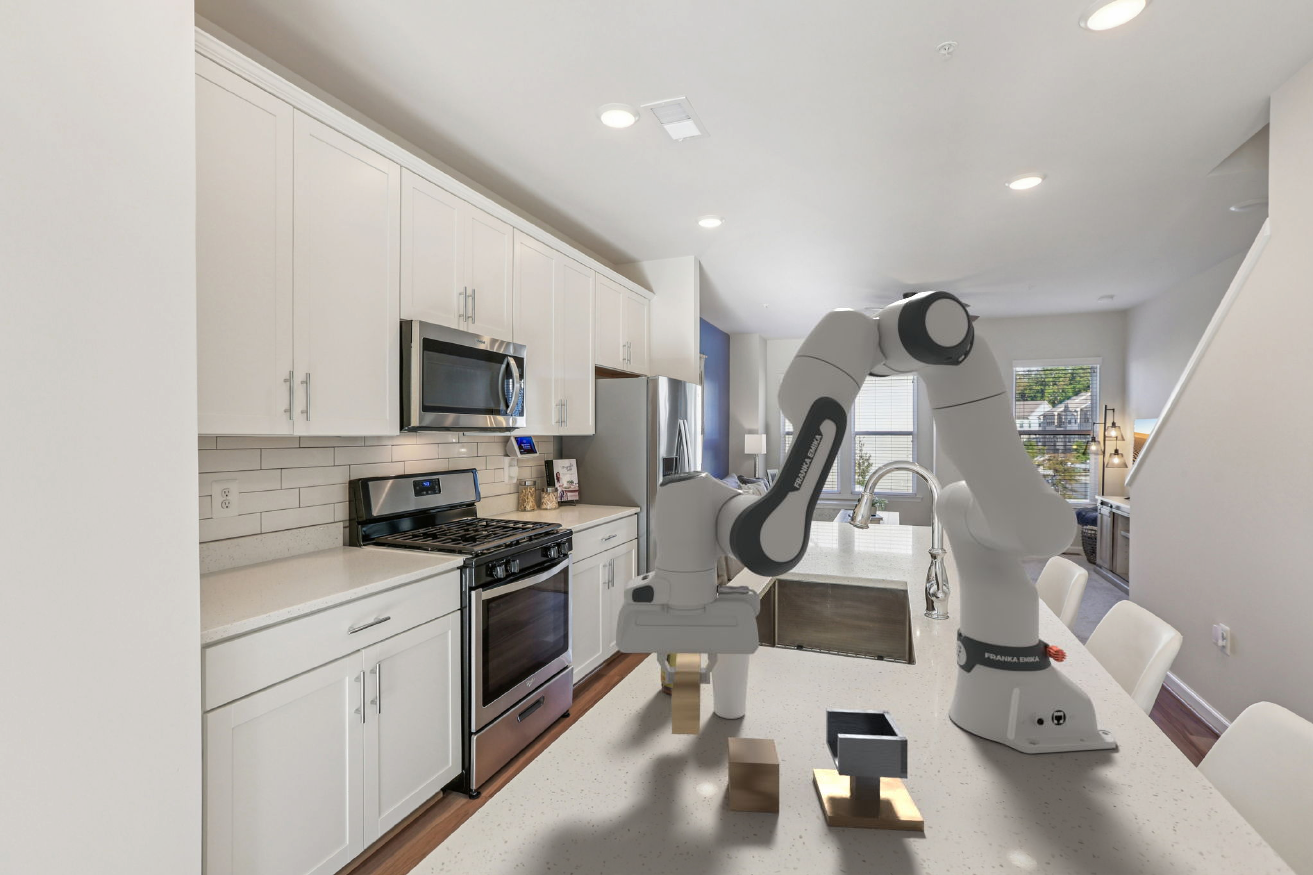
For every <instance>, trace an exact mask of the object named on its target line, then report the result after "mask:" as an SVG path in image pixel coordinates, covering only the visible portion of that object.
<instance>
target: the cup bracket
mask: <svg viewBox="0 0 1313 875" xmlns="http://www.w3.org/2000/svg"><path fill="white" fill-rule="evenodd" d="M825 709H826V710H825V711H826V713H825V714H826V715H825V717H826V719H825V726H826V727H825V728H826V729H825V730H826V731H825V738H826V739H825V743H826V746H827V748H828V750H829V753H830V756H831V758H832V761H833V763H834V766H835V768H836V769H827V768H826V769H824V768H823V769H821V768H812V769H813V770H812V778H813V781H814V784H815V788H816V791H817V793H818V794H817V795H818V797H819V801H820V804H821V807H822V811H823V814H824V817H825V820H826V822H827V826H828V827H842V828H857V829H858V828H859V829H861V828H862V829H876V830H877V829H880V830H894V831H895V830H896V831H897V830H898V831H914V832H915V831H916V832H924V831H925V820H924V818H923V816H922V814H921V813H920V811H919V810H918V808H917V806H916V804H915V803H914V801H913V798H912V797H911V796H910V794H909V792H908V790H907V789H906V787H905V785H904V783H903V781H902V780H901V779H904V780H905V779H908V768H909V767H908V760H909V759H908V747H909V746H908V745H909V744H908V738H907V737H906V735H905V734H904V733H903V731H902V730H901V728H900V726H899V725H898V724H897V721H895V719H894V717H893V716H892V715H891V713H890V712H889V710H878V709H877V710H874V709H851V708H848V709H847V708H845V709H844V708H825Z"/></svg>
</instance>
